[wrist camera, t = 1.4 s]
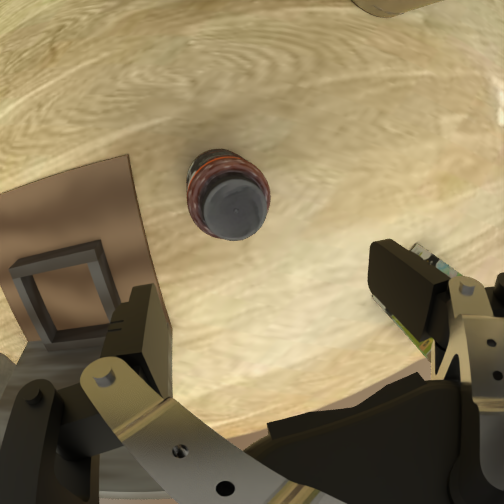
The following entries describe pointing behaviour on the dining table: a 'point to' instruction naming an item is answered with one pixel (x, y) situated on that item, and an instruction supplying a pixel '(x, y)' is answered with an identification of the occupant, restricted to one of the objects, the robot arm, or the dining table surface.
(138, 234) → the wall board holder
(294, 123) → the dining table surface
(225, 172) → the supplement bottle
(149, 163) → the dining table surface
